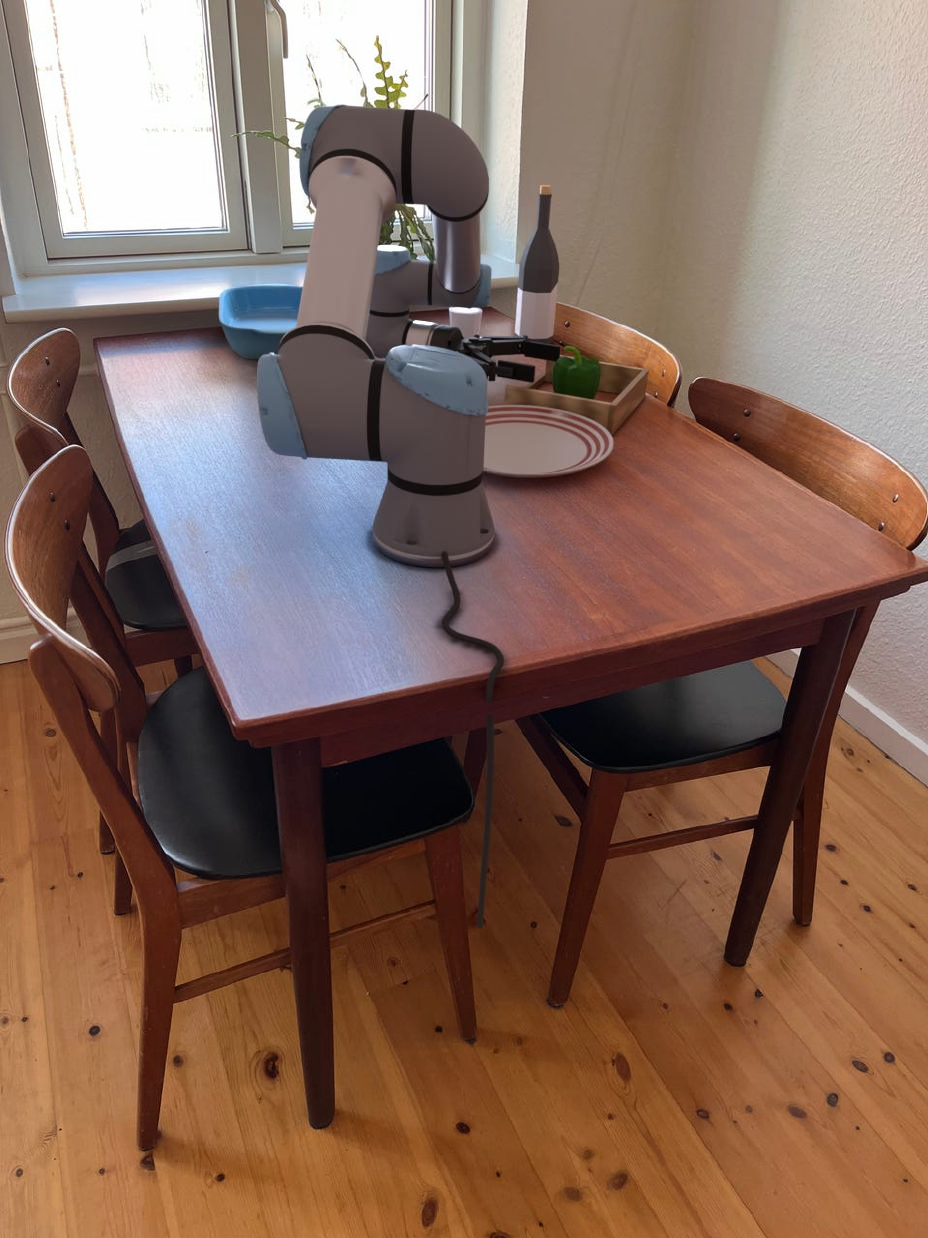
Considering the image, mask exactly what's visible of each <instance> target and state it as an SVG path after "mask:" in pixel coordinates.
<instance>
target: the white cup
mask: <svg viewBox="0 0 928 1238" xmlns="http://www.w3.org/2000/svg"><path fill="white" fill-rule="evenodd" d="M448 315H449V326H455V327H458V328H459V329H460V330H461V332H462V335H463V337H464V339H469V338H470V337H474V335H475V334H479V335H480V331H481V326H482V317H483V308H471V309H468V308H460V307H448Z"/></svg>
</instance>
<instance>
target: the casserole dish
mask: <svg viewBox="0 0 928 1238" xmlns="http://www.w3.org/2000/svg"><path fill="white" fill-rule="evenodd" d="M302 289H303V285H294V284H284V283H260V284H259V283H258V284H250V285H241V286H233V287H228V288H226V289H224V290H222V291H221V293H220V294H219V298H218V320H219V323H220V326H221V327H222V330H223V333H224V336H225V338H226V341H227V342H228V344H229V346H230V348H231V349H232V350H233V352H235V353H236V354H237V355H239V356H240V357H242V359H248V360H259V359H260V357H261V356H262V355H264V354H269V353H270V352H271V353H274V354H278V351H279V345H280V342H281V339H282V338H283V336H284V335H285V334H286V333H287V332H288V331H290V330H291V329H293V328H295V327H296V324H297V318H298V312H299V307H300V301H301V295H302Z"/></svg>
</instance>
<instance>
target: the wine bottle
mask: <svg viewBox="0 0 928 1238" xmlns="http://www.w3.org/2000/svg"><path fill="white" fill-rule="evenodd" d="M551 192H552V186H551V185H549V184H540V186H539V192H538V194H537V197H538V200H537V211H536V213H537V214H536V227H535V229H534V230H533V232H532V234H531V236H530V237H529V239H528V240H527V243H525V247H524V249H523V251H522V254H521V258H520V261H519V269H518V279H517V280H518V281H517V295H516V309H515V310H516V311H515V326H514V336H524V335H527V336H528V341H533V342H539V343H545V344H552V343H553V340H554V331H555V321H556V311H557V299H558V290H559V289H558V286H559V278H560V277H559V276H560V260H559V254H558V250H557V246H556V243H555V240H554V238H553V236H552V233H551V230H550V218H551V204H552V197H553V194H552V193H551Z"/></svg>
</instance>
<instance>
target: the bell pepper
mask: <svg viewBox="0 0 928 1238" xmlns="http://www.w3.org/2000/svg"><path fill="white" fill-rule="evenodd" d="M563 349H564V352H565V353H569V352H570V353H572V354H574V356H573V357H574V358H572V359H571V358H569V357H570V356H569V357H566V356H567V355H563V356H560V357H559V359H558V360H557V361H556V363H555V365H554V367H553V371H552V382H551V383H552V389H553V393H558V394H563V395H569V396H575V397H580V398H586V399H592V400H595V397H596V395H597V392H598V390H597V389H598V387H599V383H600V376H601V368H600V363H599V361H600V360H599V358H598V359H597V358H591V359H590V358H588V357H586V356H585V355H583V354H581V352H580V350H579V349H578V348H576V347H575V346H570V345H567V346H564V348H563Z"/></svg>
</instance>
